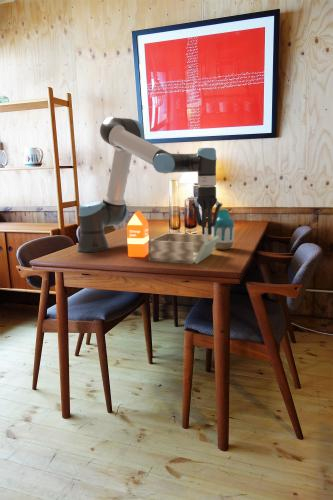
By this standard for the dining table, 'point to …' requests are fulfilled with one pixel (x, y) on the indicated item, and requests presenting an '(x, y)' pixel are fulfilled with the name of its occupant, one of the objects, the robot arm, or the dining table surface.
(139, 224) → the orange juice
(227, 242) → the vase
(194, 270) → the dining table surface
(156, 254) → the crate
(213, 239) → the panel
